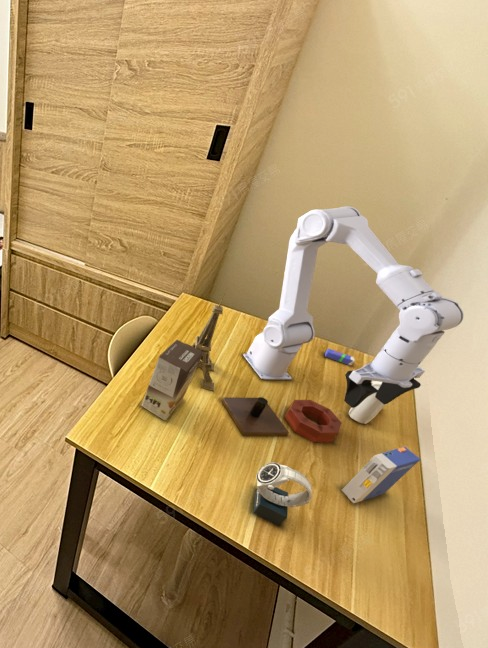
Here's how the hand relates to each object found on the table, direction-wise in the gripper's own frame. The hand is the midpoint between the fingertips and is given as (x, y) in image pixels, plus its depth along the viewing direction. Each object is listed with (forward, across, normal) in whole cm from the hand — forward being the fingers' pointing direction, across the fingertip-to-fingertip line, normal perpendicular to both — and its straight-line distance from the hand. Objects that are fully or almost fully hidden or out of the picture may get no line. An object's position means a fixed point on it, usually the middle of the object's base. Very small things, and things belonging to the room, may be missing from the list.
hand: (365, 402), depth 85 cm
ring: (+10, -6, +3) cm, 12 cm away
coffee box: (+10, -37, +13) cm, 40 cm away
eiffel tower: (+10, -23, +22) cm, 34 cm away
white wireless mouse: (+10, +11, +5) cm, 15 cm away
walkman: (+11, -8, -13) cm, 18 cm away
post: (+10, -17, +6) cm, 21 cm away
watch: (+10, -29, -13) cm, 34 cm away
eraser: (+10, +20, +22) cm, 31 cm away
